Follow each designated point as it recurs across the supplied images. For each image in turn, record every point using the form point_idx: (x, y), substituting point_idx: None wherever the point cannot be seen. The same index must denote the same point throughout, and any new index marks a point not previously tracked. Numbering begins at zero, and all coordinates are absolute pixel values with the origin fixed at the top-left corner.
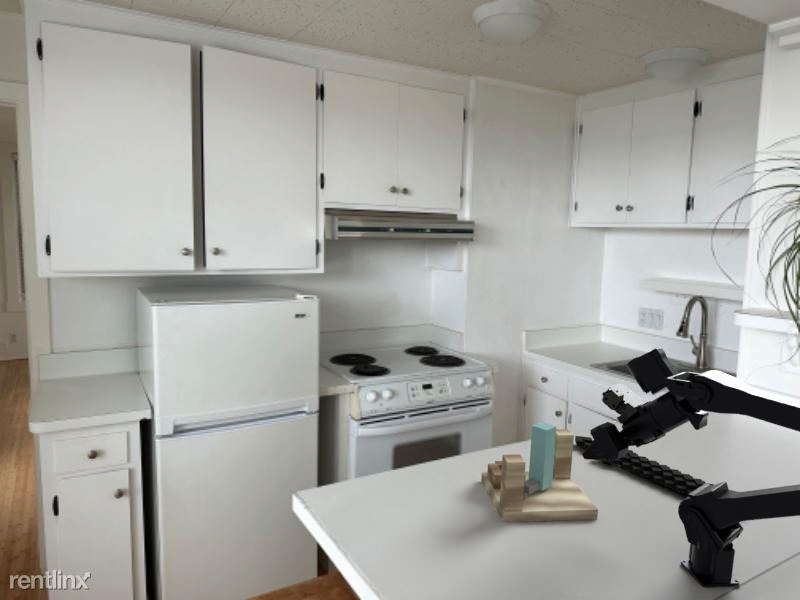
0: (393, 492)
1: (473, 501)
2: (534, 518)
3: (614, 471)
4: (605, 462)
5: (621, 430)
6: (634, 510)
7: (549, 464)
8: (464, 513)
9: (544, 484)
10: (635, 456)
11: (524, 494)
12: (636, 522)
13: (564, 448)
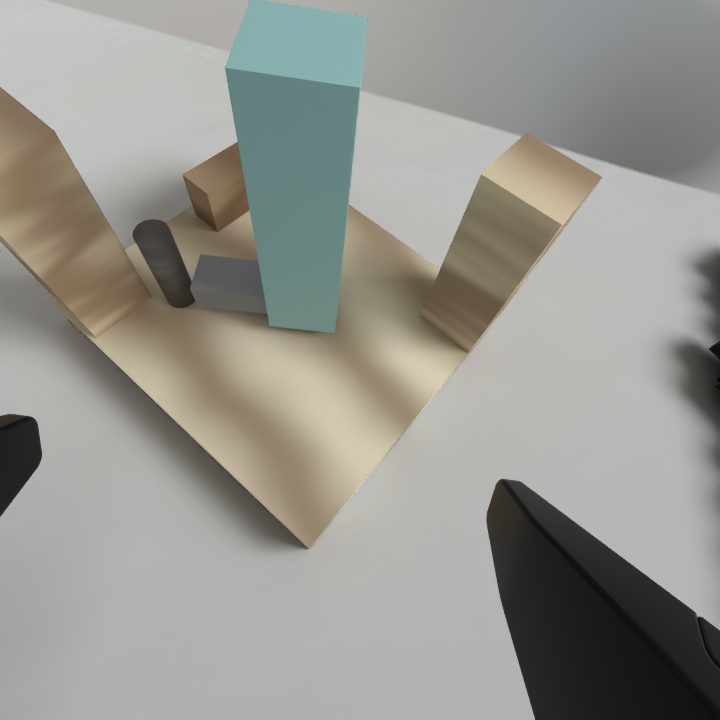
0: (59, 72)
1: (142, 210)
2: (133, 381)
3: (709, 431)
4: (717, 385)
5: (673, 671)
6: (498, 639)
7: (304, 269)
8: None
9: (279, 315)
10: None
11: None
12: (408, 698)
13: (486, 252)
